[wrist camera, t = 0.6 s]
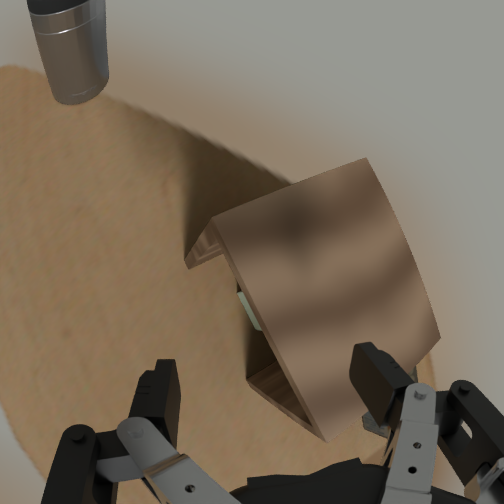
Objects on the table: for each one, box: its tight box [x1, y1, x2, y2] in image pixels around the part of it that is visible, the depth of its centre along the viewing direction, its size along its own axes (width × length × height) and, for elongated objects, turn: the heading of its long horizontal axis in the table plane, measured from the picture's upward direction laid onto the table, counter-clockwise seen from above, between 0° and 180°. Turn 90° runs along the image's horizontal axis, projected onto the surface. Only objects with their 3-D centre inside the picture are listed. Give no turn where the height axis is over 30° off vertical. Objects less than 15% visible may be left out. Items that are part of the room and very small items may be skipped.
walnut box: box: [184, 158, 441, 443], centre depth 29 cm, size 17×14×18 cm
